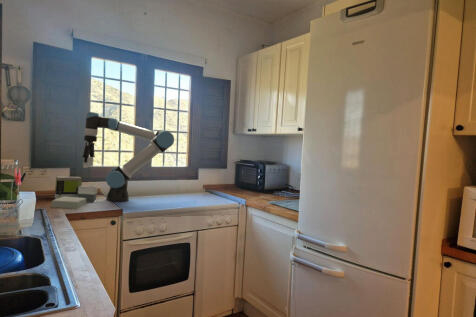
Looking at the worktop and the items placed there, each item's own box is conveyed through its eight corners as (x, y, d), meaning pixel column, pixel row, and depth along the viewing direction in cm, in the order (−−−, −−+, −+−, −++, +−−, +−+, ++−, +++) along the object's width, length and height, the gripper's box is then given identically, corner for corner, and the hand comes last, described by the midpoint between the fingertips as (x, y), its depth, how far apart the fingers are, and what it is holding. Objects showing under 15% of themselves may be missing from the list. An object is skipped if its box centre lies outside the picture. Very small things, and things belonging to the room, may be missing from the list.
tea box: (78, 197, 214) (80, 176, 214) (80, 199, 205) (82, 178, 205) (54, 197, 205) (56, 175, 205) (54, 199, 197) (56, 177, 197)
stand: (86, 204, 192) (86, 197, 192) (77, 208, 177) (77, 202, 177) (62, 202, 190) (63, 196, 190) (51, 207, 174) (51, 200, 174)
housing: (95, 200, 207) (97, 186, 207) (93, 202, 201) (94, 187, 201) (77, 199, 205) (78, 185, 205) (73, 201, 199) (75, 186, 199)
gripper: (89, 135, 212) (86, 165, 212) (79, 133, 188) (76, 167, 188) (100, 136, 214) (97, 166, 214) (92, 135, 190) (89, 168, 190)
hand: (87, 167), depth 201 cm, fingers open, 13 cm apart
